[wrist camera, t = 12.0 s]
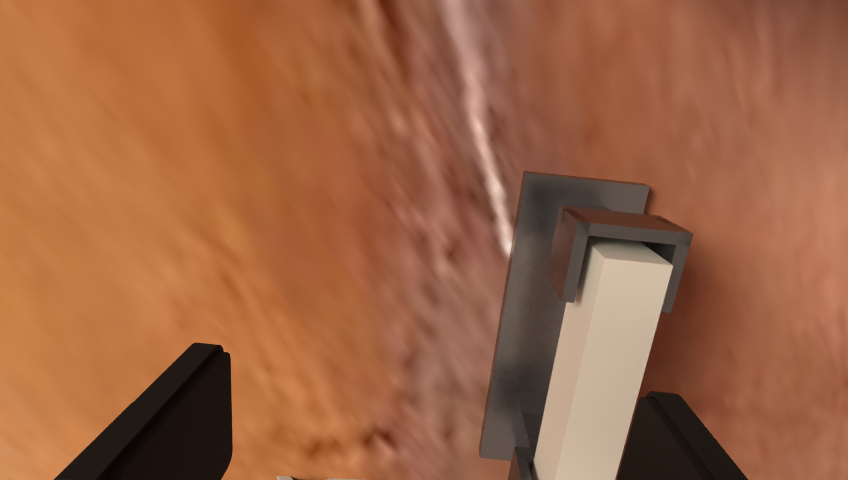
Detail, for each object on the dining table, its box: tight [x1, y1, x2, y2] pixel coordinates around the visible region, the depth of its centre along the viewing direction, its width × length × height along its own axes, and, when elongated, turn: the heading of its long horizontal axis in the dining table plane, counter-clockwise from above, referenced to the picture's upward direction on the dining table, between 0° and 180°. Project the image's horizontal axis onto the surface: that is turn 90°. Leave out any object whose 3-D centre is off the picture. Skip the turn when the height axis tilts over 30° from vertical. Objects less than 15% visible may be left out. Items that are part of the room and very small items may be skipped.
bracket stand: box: [479, 171, 693, 480], centre depth 38 cm, size 28×10×12 cm, turn 174°
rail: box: [531, 236, 673, 480], centre depth 33 cm, size 22×4×5 cm, turn 174°
